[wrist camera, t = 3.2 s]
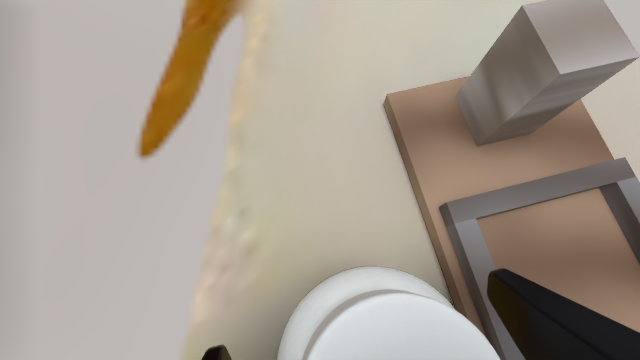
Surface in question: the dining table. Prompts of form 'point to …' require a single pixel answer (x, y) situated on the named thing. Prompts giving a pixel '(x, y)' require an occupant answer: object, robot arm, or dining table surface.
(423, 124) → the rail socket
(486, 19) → the dining table surface
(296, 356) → the supplement bottle
